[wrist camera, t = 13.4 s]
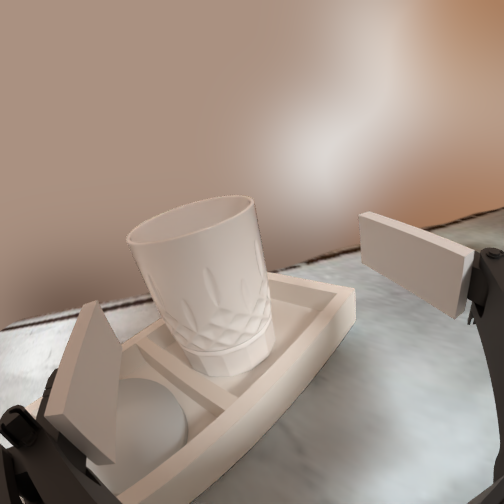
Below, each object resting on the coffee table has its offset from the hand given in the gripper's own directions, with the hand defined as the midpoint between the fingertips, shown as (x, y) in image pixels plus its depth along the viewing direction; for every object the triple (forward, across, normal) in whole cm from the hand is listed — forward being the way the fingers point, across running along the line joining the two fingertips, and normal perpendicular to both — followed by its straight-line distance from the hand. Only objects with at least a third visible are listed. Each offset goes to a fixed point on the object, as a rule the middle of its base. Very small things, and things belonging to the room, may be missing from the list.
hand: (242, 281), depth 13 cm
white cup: (+5, -1, -8) cm, 10 cm away
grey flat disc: (0, -10, -8) cm, 12 cm away
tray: (+3, -5, -9) cm, 10 cm away
